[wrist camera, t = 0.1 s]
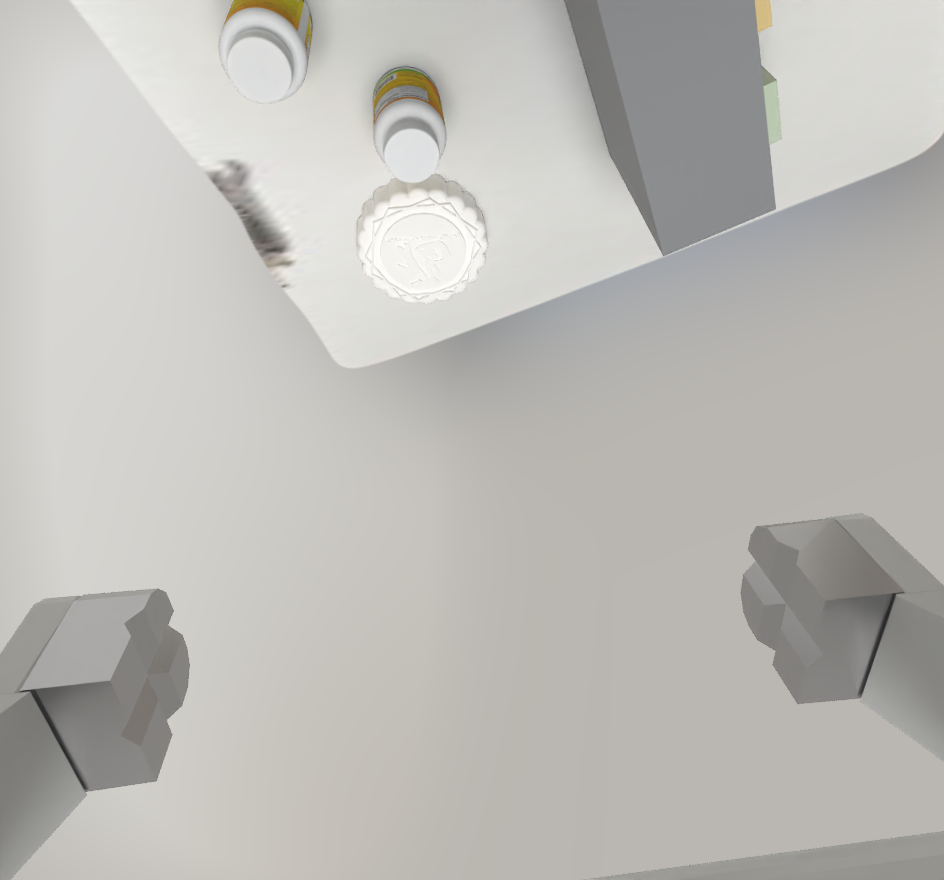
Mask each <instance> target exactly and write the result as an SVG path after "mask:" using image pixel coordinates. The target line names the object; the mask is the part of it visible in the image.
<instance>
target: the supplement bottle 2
mask: <svg viewBox="0 0 944 880" xmlns="http://www.w3.org/2000/svg"><path fill="white" fill-rule="evenodd" d="M373 132H374V143H375V147H376V150H377V153H378V155H379V156H380V158H381V159H382V161H383V162H384V163H385V164H386V167H387V168H388V170H389V172H390V173H391V174H392V175H393V176H394V177H396V178H397V179H399V180H401V181H403V182H407V183H417V182H421V181H424V180H426V179H427V178H429V177H430V176H431V175H432V174H433V173H434V172H435V170H436V168H437V166H438V163H439V159H440V158H441V156H442V154H443V152H444V149H445V146H446V128H445V123H444V117H443V112H442V107H441V101H440V97H439V93H438V90H437V88H436V86H435V84H434V83H433V81H432V80H431V79H430V78H429V77H428V76H427V75H426V74H425V73H423V72H421V71H419V70H417V69H414V68H409V67H401V68H396V69H394V70H391V71H390V72H388V73H386V74H385V75H384V76H383V77H382V78H381V79H380V81H379V82H378V84H377V86H376V88H375V91H374V94H373Z"/></svg>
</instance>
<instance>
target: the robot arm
mask: <svg viewBox="0 0 944 880" xmlns="http://www.w3.org/2000/svg"><path fill="white" fill-rule="evenodd" d="M748 550H749V552H750V553H751V554H752V556H753V557H754V559H755V560H756V562H754V564H753V565H752V566H751V567H750V568H749V569H748V570H747V571H746V572H745V573H744V574H743V580H742V587H741V598H742V605H743V612H744V614H745V617H746V620H747V622H748V625H749V627H750V629H751V630H752V632H753V634H754V635H755V637H756V639H757V640H758V641H760V642H762V643H763V644H765V645H767V646H768V647H770V648H772V649H773V650H775V651H776V652H775V656H774V661H773V666H774V667H775V669H776V671H777V672H778V674H779V675H780V677H781V679H782V680H783V682H784V683H785V685H786V686H787V688H788V690H789V691H790V693H791V694H792V696H793V697H794V699H795V701H796V702H797V704H803V703H814V702H825V701H835V700H846V699H856V698H861V700H860V702H862V703H863V704H864V705H866V706H867V707H869V708H870V709H872V710H873V711H874V712H876V713H877V714H878V715H880V716H882V717H883V718H884V719H885V720H887V721H888V722H890V723H891V724H893V725H894V726H895V727H897V728H898V729H899V730H901V731H902V732H904V733H905V734H906V735H908V736H909V737H911V738H912V739H913V740H915V741H916V742H918V743H919V744H920V745H922V746H923V747H924V748H926V749H927V750H929V751H930V752H931V753H933V754H934V755H936V756H937V757H939V758H940V759H941V760H943V761H944V586H943V585H942V584H941V583H940V582H939V581H938V580H937V579H936V578H935V577H934V576H933V575H932V574H931V573H930V572H929V571H928V570H927V569H926V568H925V567H924V566H922V565H921V564H920V563H919V562H918V561H917V560H916V559H915V558H914V557H913V556H912V555H911V554H910V553H909V552H908V551H907V550H906V549H904V548H903V547H902V546H901V545H900V544H899V543H898V542H897V541H896V540H895V539H894V538H893V537H892V536H891V535H890V534H889V533H888V532H887V531H885V529H884V528H882V527H881V526H880V525H879V524H878V523H877V522H876V521H875V520H874V519H873V518H871V517H869V516H867V515H864V514H862V513H861V514H853V515H844V516H837V517H829V518H826V519H819V520H810V521H801V522H793V523H783V524H774V525H765V526H757V527H756V528H755V530H754V531H753V533H752V534H751V537H750V542H749V547H748ZM173 611H174V610H173V608H172V605H171V603H170V601H169V598H168V596H167V594H166V592H164V591H162V590H160V589H149V590H136V591H124V592H112V593H101V594H88V595H83V596H70V597H59V598H48V599H44V600H42V601H40V602H38V603H36V604H34V605H33V607H32V608H31V610H30V611H29V613H28V614H27V615H26V617H25V619H24V620H23V621H22V623H21V625H20V626H19V627H18V629H17V630H16V632H15V634H14V635H13V636H12V638H11V639H10V641H9V642H8V643H7V645H6V647H5V648H4V649H3V651H2V653H1V654H0V880H10V879H11V878H12V877H13V876H14V875H15V874H16V873H17V872H18V871H19V870H20V869H21V867H22V866H23V865H24V864H25V863H26V862H27V861H28V860H29V859H30V858H31V856H32V855H33V854H34V853H35V852H36V851H37V850H38V849H39V847H41V845H42V844H43V843H44V842H45V841H46V840H47V839H48V838H49V837H50V836H51V834H52V833H53V832H54V831H55V830H56V829H57V828H58V827H59V826H60V825H61V823H62V822H63V821H64V820H65V819H66V818H67V817H68V816H69V815H70V813H71V812H72V811H73V810H74V809H75V808H76V807H77V806H78V805H79V803H80V802H81V801H82V800H83V799H84V798H85V797H86V796H87V794H86V792H87V791H94V790H101V789H107V788H114V787H121V786H128V785H135V784H141V783H148V782H155V781H157V778H158V775H159V772H160V769H161V766H162V763H163V760H164V757H165V755H166V751H167V749H168V746H169V743H170V740H171V737H172V733H171V730H170V728H169V725H168V723H167V719H168V718H169V717H170V716H171V715H173V714H174V713H175V712H176V711H177V710H178V709H179V708H180V707H181V706H182V704H183V701H184V697H185V694H186V691H187V688H188V679H189V666H190V664H189V657H188V650H187V647H186V644H185V641H184V638H183V635H182V634H180V633H179V632H177V631H176V630H174V629H173V628H171V627H170V626H168V624H169V621H170V619H171V616H172V614H173ZM585 880H944V831H942V832H935V833H927V834H920V835H912V836H905V837H897V838H890V839H883V840H875V841H868V842H860V843H852V844H845V845H838V846H830V847H823V848H816V849H808V850H800V851H793V852H786V853H778V854H771V855H764V856H756V857H748V858H741V859H734V860H726V861H719V862H712V863H704V864H697V865H689V866H682V867H675V868H667V869H660V870H652V871H644V872H637V873H629V874H622V875H615V876H607V877H600V878H592V879H585Z"/></svg>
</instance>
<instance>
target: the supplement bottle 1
mask: <svg viewBox="0 0 944 880" xmlns="http://www.w3.org/2000/svg"><path fill="white" fill-rule="evenodd" d="M311 38H312V18H311V14H310V11H309V8H308V6H307V4H306V2H305V0H234V1H233V4H232V6H231V9H230V11H229V14H228V16H227V18H226V21H225V23H224V26H223V28H222V31H221V34H220V39H219V55H220V60H221V63H222V66H223V68H224V71H225V73H226V74H227V76H228V78H229V79H230V80H231V82H232V84H233V85H234V87H235V88H236V89H237V91H238V92H239V93H240V94H242V95H243V96H244V97H245V98H247V99H249V100H251V101H253V102H256V103H261V104H270V103H274V102H277V101H281V100H284V99H286V98H288V97H290V96H292V95H293V94H294V93H295V92H296V91H297V90H298V89H299V88H300V86H301V85H302V83H303V81H304V79H305V76H306V72H307V66H308V59H309V53H310V45H311Z"/></svg>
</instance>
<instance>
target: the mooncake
mask: <svg viewBox="0 0 944 880" xmlns="http://www.w3.org/2000/svg"><path fill="white" fill-rule="evenodd" d="M487 248H488V240H487V235H486V231H485V224H484V220H483V215H482V212H481V210H480V209H479V208H478V207H476V206H475V202H474V198H473V197H472V195H471V194H469V193H467V192H462V189H461V187H460V185H459V184H458V183H456V182H453V181H448V182H445V180H444V179H443V178H442V177H441V176H439V175H431V176H430V177H429V178H427V179H426V180H424V181H421V182H417V183H407V182H403V181H401V180H399V179H397V178H395V179H393V180H392V181H391V182H390V183H389V185H388V187H387V186H382V187H379V188H378V189H377V190H376V191H375V193H374V196H373V199H370V200H368V201H366V202H365V204H364V206H363V215H362V216H361V217H360V218H359V219H358V222H357V256H358V259H359V260H360V261H361V262H362V270H363V272H364V274H365V275H366V276H367V277H369V278H372V283H373V285H374V286H375V287H376V288H377V289H380V290H385V292H386V294H387V295H388V296H389V297H391V298H402V300H403V301H405V302H407V303H415V302H417V301H418V302H419V301H420V302H421V303H424V304H430V303H433V302H434V301H435V300H436V299H438V300H441V301H443V300H447V299H449V298H450V297H451V296H452V295H453V293H461V292H463V291H464V290H465V289H466V287H467V283H470V282H473V281H474V280H475V279H476V278H477V277H478V274H479V271H478V269H480V268H481V267H483V266H484V264H485V261H486V257H485V252H486V250H487Z"/></svg>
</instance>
